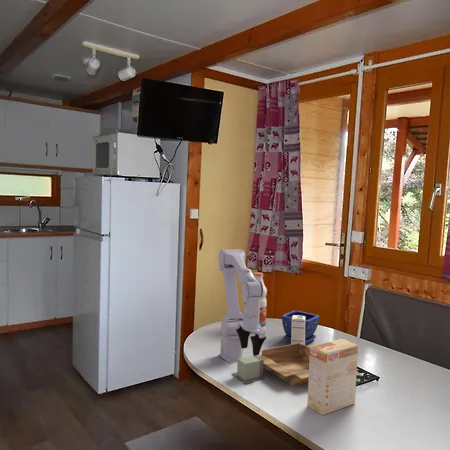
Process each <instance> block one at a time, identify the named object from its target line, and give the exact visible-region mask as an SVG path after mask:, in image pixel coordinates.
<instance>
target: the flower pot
mask: <svg viewBox="0 0 450 450" xmlns="http://www.w3.org/2000/svg"><path fill="white" fill-rule="evenodd" d="M293 315H301V316H305V345H307V344H309V343H311V342H312V341H314V340H315V339H316V338H317V335H315V333H316V330H317V328H318V325H319V321H320V315H318V314H315V313H309V312H304V311H301V310H292V311H290V312H287V313H284V314H283V315H282V316H281V321H282V323H281V324H282V328H283V331H284V333H285V335H283V338H284V339H285V340H286V341H289V342H291V328H292V316H293Z"/></svg>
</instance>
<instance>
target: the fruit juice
mask: <svg viewBox="0 0 450 450" xmlns="http://www.w3.org/2000/svg"><path fill="white" fill-rule="evenodd" d="M252 273H253V275H254V277H255V279H256V280H258V281H261V282H262V285H263V295H262V297H260V314H259V325H261V329H262V330H263V331H264V332H265V331H266V328H267V327H266V325H267V302H268V301H267V292H268V289H267V287H266V286H265V283H264V279H263V278H264V273H263V272H258V271H256V272H252Z"/></svg>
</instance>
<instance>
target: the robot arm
mask: <svg viewBox="0 0 450 450" xmlns="http://www.w3.org/2000/svg"><path fill="white" fill-rule="evenodd" d="M217 259H218V269H219V271H221V272H222V273H223V279H224V291H225V299H226V309H227V312H226V313H225V314H224V316H222V317H221V319H220V320H221V321H220V322H221V323H220V325H221V326H220V331H221V335H222V336H221V338H220V353H218V356H219V357H220V358H222V359H223V360H225V361H227V363H229V364H233V363H237V362H238V359H240V358H245V356H243V355H244V353H243V352H244V349H248V345H249V338H250V342H251V345H252V346H251V347H252V356H260V353H261V351H262V350H261V349H262V346H263V344H264V342H265V341H266V339H267V336H266V332H265V330H264V331H263V330H262V329H261V325H259V314H260V297H262V295H263V285H262V282H261V281H258V280H256V279H255V277H254V275H253V273H254V272H252V270H251V269H250V268H248V267H247V266H246V263H245V260H246V253H245V251H244V250H243V248H242V249H223V248H222V249H220V250H219V252H218V258H217ZM236 274H237V275H236ZM237 280H238V282H239V284H240V286H241V294H242V302H243V313H242V312H241V311H240V305H239V304H240V303H239V295H238V294H239V293H238V287H237V285H238V284H237ZM250 333H251V334H253V335H250Z"/></svg>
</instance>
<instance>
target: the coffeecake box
mask: <svg viewBox="0 0 450 450" xmlns="http://www.w3.org/2000/svg"><path fill="white" fill-rule="evenodd" d="M309 347H310V358H309V381H308V382H307V383H308V385H307V387H308V388H307V407H308V408H310V409H311V410H313V411H315V412H316V413H318V414H320V416H325V415H328V414H329V413H333V412H335V411H338V410H341V409H344V408H348V407H349V406H352V405H355V404H356V394H357V393H356V392H357V391H356V389H357V375H358V374H357V371H358V369H357V368H358V352H359V349H358V348H359V344H356V343H354V342H351V341H349V340H347V339H344V338H339V339H335V340H331V341H328V342H323V343H318V344H314V345H310V346H309Z"/></svg>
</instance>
